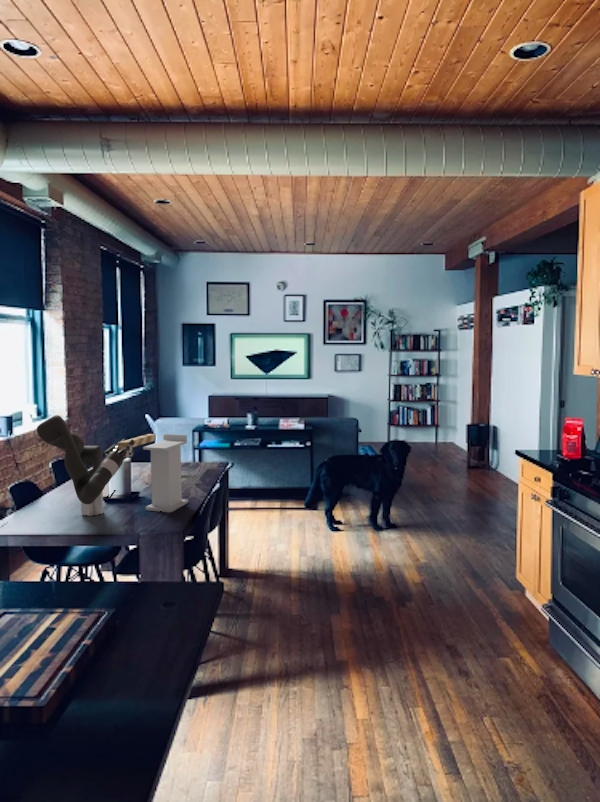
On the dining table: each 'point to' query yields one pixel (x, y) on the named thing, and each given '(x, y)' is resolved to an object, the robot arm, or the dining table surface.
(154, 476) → the white plinth column
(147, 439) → the brown wooden block
